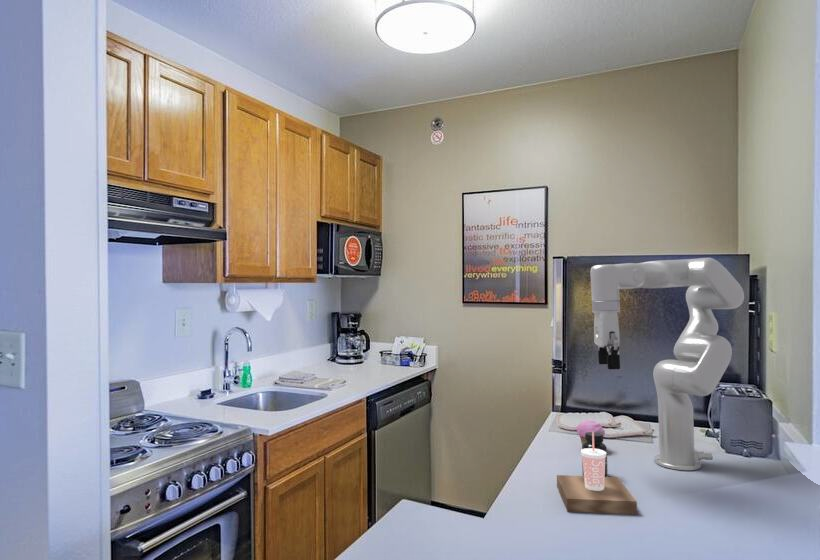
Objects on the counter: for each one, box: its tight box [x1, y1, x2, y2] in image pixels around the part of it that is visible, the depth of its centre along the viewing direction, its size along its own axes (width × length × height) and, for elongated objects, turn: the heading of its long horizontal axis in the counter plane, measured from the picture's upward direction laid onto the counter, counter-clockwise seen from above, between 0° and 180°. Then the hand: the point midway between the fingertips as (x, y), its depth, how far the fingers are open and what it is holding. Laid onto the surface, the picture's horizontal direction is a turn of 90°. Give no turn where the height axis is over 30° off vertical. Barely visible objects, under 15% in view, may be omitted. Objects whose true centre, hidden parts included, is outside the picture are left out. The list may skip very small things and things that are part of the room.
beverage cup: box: [580, 432, 606, 491], centre depth 126 cm, size 6×6×14 cm
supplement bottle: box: [581, 432, 609, 477], centre depth 142 cm, size 7×7×12 cm
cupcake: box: [576, 420, 606, 445], centre depth 165 cm, size 9×9×10 cm
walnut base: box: [556, 474, 638, 515], centre depth 126 cm, size 16×16×3 cm
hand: (609, 366), depth 142 cm, fingers open, 9 cm apart
